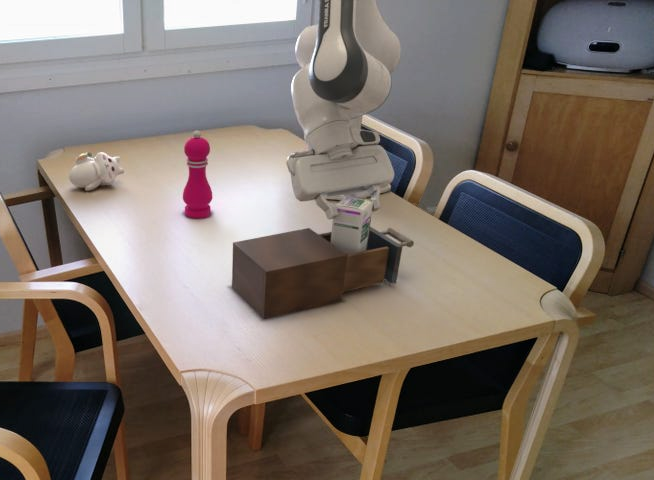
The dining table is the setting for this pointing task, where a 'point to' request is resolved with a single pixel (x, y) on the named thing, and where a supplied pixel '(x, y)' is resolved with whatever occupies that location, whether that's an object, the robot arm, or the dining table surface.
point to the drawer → (374, 259)
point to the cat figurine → (94, 171)
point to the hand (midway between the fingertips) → (354, 213)
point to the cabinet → (288, 272)
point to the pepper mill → (197, 178)
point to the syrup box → (352, 224)
